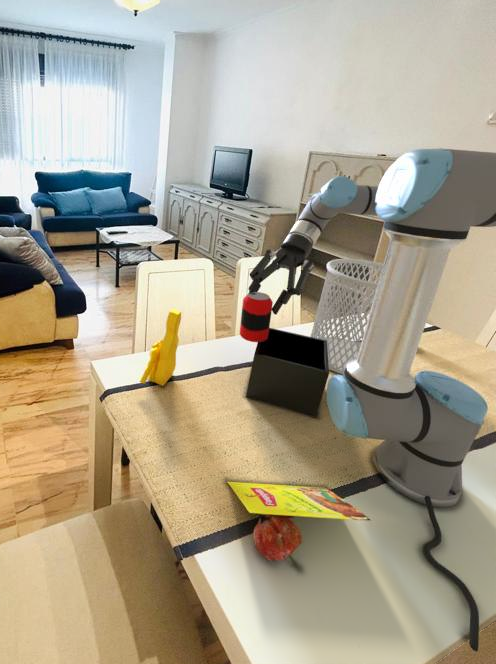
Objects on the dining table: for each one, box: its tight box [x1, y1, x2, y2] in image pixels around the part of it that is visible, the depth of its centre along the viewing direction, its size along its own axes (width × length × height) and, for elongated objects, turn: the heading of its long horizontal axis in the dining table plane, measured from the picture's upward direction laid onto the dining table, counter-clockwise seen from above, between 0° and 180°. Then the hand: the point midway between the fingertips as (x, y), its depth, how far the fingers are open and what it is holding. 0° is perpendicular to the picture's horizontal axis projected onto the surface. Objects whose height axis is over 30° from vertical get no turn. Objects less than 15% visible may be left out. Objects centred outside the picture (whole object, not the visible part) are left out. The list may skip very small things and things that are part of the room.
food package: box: [227, 481, 373, 522], centre depth 70 cm, size 15×1×20 cm
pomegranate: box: [253, 513, 303, 568], centre depth 64 cm, size 7×7×10 cm
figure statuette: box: [139, 308, 182, 387], centre depth 105 cm, size 18×8×22 cm, turn 150°
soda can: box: [239, 291, 274, 343], centre depth 104 cm, size 8×8×12 cm
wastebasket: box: [310, 258, 384, 375], centre depth 120 cm, size 25×25×30 cm
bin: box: [245, 327, 330, 418], centre depth 105 cm, size 18×18×14 cm
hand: (260, 306), depth 104 cm, fingers closed on soda can, 7 cm apart
